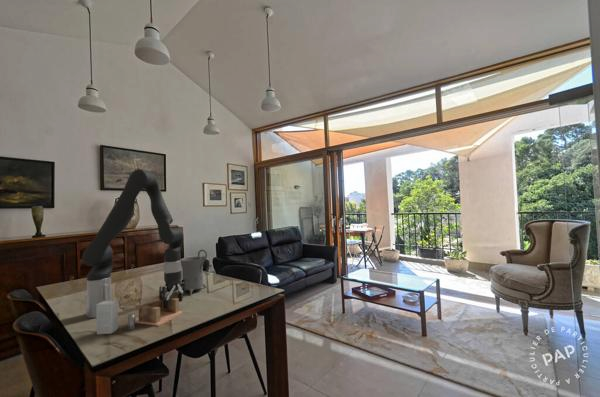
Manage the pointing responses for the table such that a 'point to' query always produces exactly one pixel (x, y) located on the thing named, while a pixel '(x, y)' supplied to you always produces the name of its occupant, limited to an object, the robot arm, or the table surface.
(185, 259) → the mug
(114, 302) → the skincare box
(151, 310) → the c link
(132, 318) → the post
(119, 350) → the table surface
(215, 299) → the table surface
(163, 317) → the tile
